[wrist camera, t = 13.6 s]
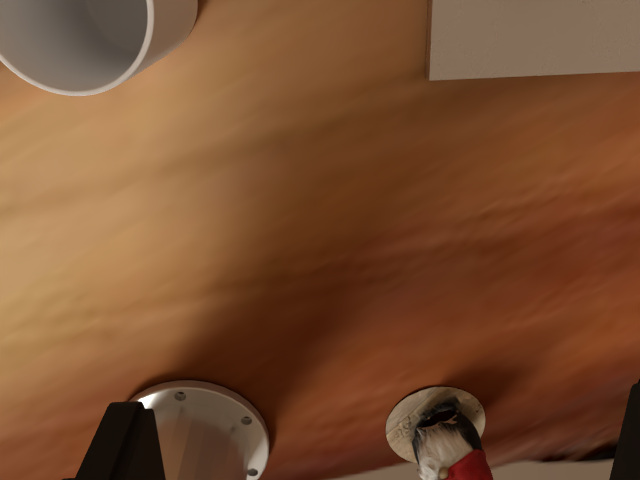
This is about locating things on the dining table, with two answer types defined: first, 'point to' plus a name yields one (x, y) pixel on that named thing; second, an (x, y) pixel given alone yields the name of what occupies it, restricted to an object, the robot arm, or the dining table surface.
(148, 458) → the robot arm
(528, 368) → the dining table surface
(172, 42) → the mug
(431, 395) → the figurine
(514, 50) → the square peg base
